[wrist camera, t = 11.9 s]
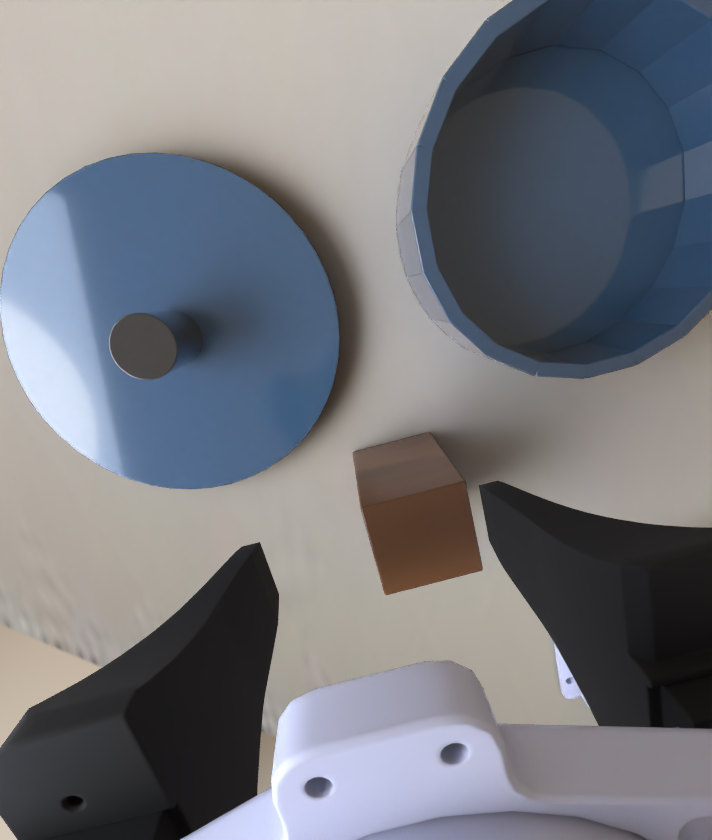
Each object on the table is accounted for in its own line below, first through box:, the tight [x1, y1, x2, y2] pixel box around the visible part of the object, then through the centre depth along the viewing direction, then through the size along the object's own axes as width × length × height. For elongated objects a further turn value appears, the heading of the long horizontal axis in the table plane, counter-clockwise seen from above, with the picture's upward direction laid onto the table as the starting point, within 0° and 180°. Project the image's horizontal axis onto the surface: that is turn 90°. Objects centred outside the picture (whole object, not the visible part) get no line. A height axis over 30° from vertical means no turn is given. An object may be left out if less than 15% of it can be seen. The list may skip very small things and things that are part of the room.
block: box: [353, 432, 483, 595], centre depth 19 cm, size 4×4×6 cm
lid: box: [0, 153, 340, 489], centre depth 17 cm, size 14×14×4 cm
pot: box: [396, 0, 712, 379], centre depth 17 cm, size 13×13×4 cm
